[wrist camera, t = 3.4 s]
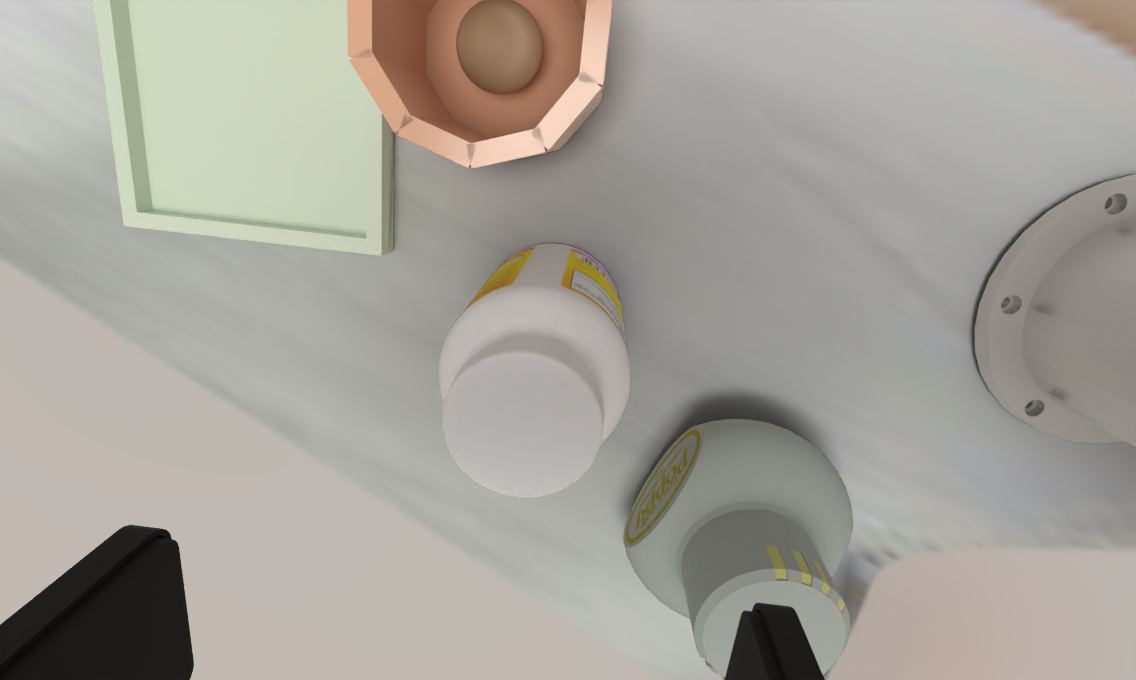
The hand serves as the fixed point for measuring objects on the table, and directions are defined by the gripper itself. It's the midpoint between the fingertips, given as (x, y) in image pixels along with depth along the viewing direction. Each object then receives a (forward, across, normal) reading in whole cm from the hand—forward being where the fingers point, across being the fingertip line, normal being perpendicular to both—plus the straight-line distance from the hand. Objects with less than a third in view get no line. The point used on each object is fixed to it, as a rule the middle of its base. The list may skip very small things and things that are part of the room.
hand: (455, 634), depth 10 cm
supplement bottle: (+20, 0, 0) cm, 21 cm away
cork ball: (+19, +3, -11) cm, 22 cm away
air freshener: (+20, -10, +9) cm, 25 cm away
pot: (+20, +3, -11) cm, 23 cm away
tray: (+20, +14, -8) cm, 26 cm away
